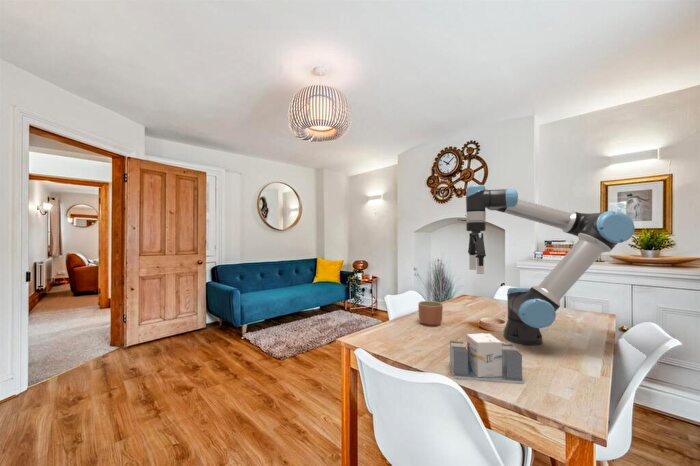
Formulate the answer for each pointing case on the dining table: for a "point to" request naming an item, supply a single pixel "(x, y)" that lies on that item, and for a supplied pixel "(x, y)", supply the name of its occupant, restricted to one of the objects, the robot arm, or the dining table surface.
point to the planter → (430, 312)
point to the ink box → (484, 355)
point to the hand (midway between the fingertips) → (476, 271)
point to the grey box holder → (509, 375)
